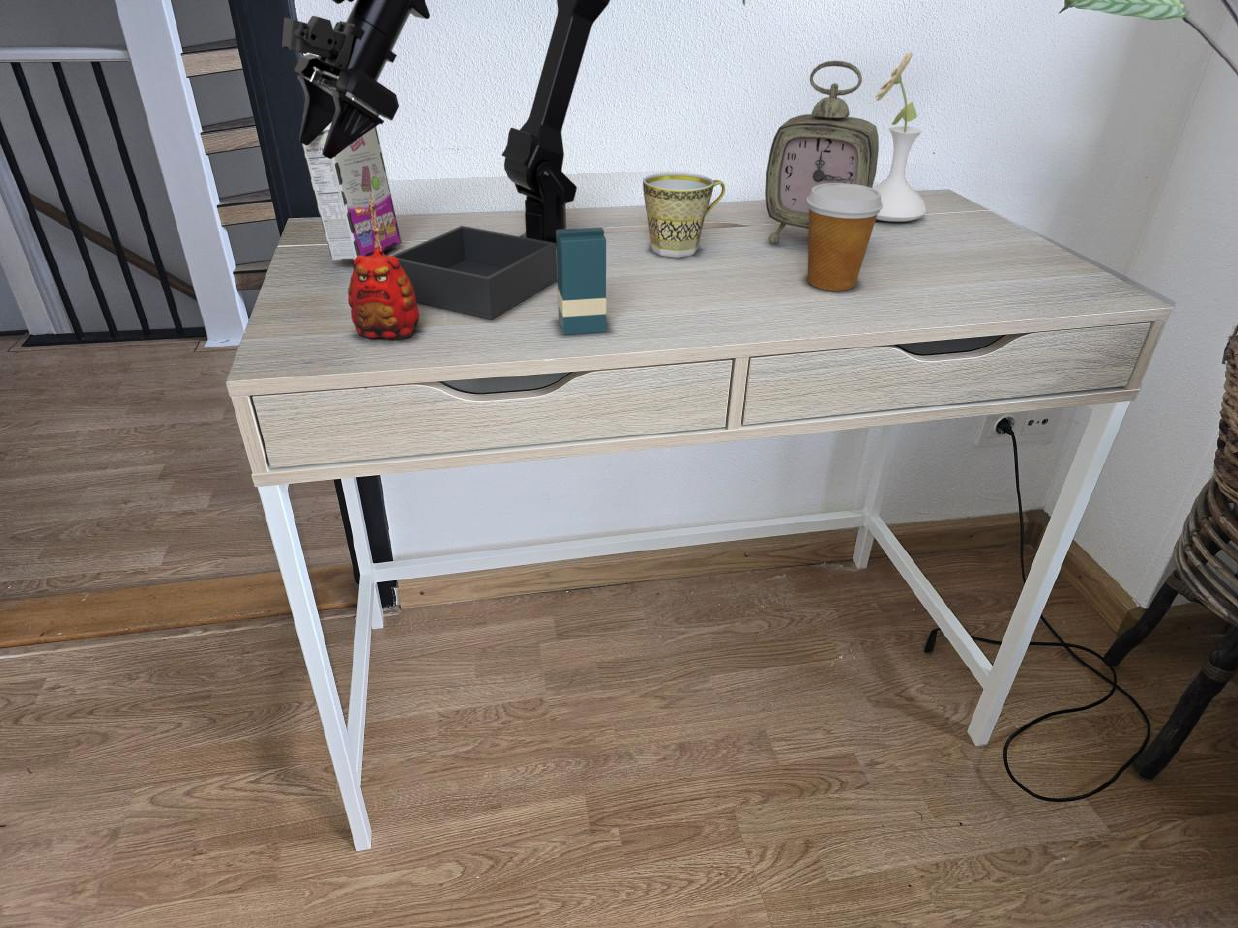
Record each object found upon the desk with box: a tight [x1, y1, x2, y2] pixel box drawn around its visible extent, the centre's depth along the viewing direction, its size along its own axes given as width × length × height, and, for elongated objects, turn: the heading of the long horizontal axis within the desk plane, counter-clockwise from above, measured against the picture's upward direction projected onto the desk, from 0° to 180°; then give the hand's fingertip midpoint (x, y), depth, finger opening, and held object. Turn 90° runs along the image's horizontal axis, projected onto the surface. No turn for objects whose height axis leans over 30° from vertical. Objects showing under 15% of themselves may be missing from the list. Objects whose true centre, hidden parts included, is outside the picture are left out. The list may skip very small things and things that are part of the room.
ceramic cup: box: [642, 171, 726, 259], centre depth 117 cm, size 13×10×10 cm
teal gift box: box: [556, 226, 608, 336], centre depth 93 cm, size 4×5×12 cm
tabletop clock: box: [764, 60, 880, 245], centre depth 116 cm, size 14×9×25 cm, turn 68°
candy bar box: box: [301, 126, 402, 262], centre depth 111 cm, size 11×5×16 cm, turn 163°
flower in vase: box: [872, 51, 928, 223], centre depth 128 cm, size 13×11×25 cm
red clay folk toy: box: [347, 193, 420, 341], centre depth 90 cm, size 8×7×15 cm
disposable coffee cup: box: [806, 183, 883, 292], centre depth 106 cm, size 10×10×12 cm
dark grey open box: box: [390, 225, 558, 321], centre depth 104 cm, size 15×15×5 cm
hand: (314, 150), depth 98 cm, fingers open, 8 cm apart
